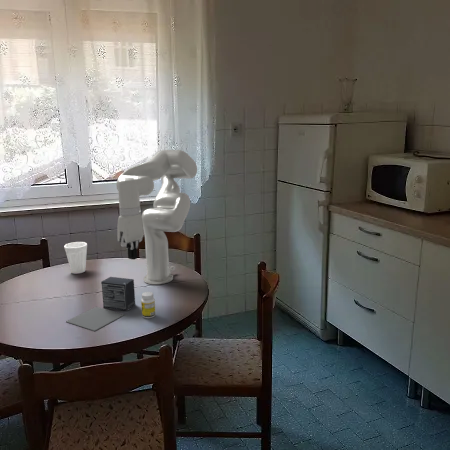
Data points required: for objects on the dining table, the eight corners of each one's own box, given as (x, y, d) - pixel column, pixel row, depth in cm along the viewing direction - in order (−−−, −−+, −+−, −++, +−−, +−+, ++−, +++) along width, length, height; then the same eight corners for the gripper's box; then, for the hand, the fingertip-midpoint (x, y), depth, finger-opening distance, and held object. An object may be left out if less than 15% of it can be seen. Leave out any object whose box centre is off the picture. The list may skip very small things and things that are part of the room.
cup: (68, 269, 207) (65, 242, 204) (90, 267, 209) (87, 241, 206) (65, 276, 197) (62, 248, 194) (89, 274, 200) (86, 246, 197)
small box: (136, 304, 167) (134, 278, 164) (127, 311, 161) (125, 284, 158) (112, 301, 170) (110, 275, 168) (102, 308, 164) (100, 281, 162)
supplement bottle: (142, 313, 159) (141, 291, 157) (156, 312, 160) (154, 290, 158) (141, 319, 155) (140, 296, 153) (155, 318, 155) (153, 296, 153)
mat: (96, 307, 165) (96, 306, 165) (124, 315, 158) (124, 314, 158) (66, 322, 153) (65, 321, 153) (94, 331, 146) (94, 330, 146)
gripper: (136, 207, 173) (138, 252, 177) (108, 214, 160) (111, 262, 164) (150, 209, 169) (153, 255, 173) (123, 216, 157) (126, 265, 161)
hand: (132, 258), depth 169 cm, fingers closed
